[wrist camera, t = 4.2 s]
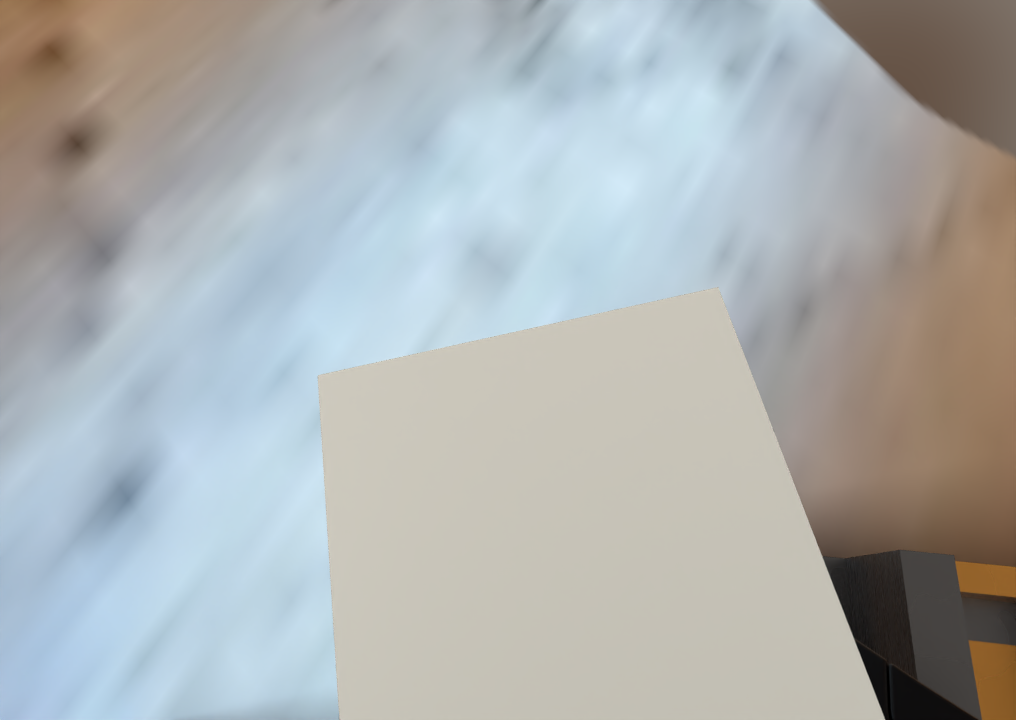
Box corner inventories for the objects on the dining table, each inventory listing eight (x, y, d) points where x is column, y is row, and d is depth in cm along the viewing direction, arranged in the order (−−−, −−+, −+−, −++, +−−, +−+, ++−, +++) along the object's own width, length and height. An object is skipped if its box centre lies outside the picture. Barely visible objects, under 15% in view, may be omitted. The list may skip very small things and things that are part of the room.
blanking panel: (663, 749, 13) (1335, 1886, 2) (558, 770, 14) (421, 2011, 2) (609, 530, 15) (717, 287, 4) (516, 549, 16) (317, 376, 4)
